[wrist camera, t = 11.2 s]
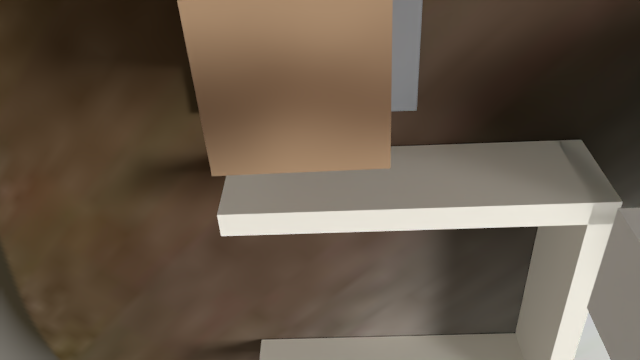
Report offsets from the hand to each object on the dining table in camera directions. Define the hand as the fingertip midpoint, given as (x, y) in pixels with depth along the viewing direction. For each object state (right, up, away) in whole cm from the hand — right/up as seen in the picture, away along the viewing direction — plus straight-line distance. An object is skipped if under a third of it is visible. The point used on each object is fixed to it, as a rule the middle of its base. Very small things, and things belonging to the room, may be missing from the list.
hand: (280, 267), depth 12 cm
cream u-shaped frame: (+5, -3, +22) cm, 23 cm away
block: (0, +9, +13) cm, 16 cm away
